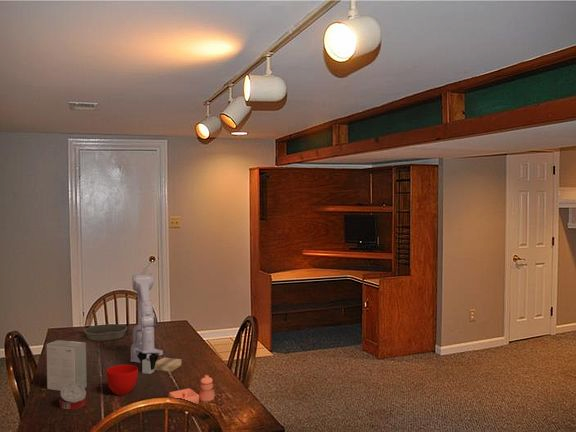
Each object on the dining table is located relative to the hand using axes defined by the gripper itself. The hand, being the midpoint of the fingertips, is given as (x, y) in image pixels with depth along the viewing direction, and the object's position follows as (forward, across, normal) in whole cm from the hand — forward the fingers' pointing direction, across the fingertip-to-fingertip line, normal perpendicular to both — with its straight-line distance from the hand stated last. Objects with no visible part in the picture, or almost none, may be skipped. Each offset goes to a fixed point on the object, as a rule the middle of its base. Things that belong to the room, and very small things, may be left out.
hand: (148, 368), depth 264 cm
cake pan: (+2, -60, +51) cm, 79 cm away
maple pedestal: (+2, +5, +9) cm, 10 cm away
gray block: (+2, 0, 0) cm, 2 cm away
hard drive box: (+2, -22, -30) cm, 37 cm away
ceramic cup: (+2, +2, -26) cm, 26 cm away
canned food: (+2, -7, -45) cm, 46 cm away
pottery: (+2, +38, -27) cm, 46 cm away
